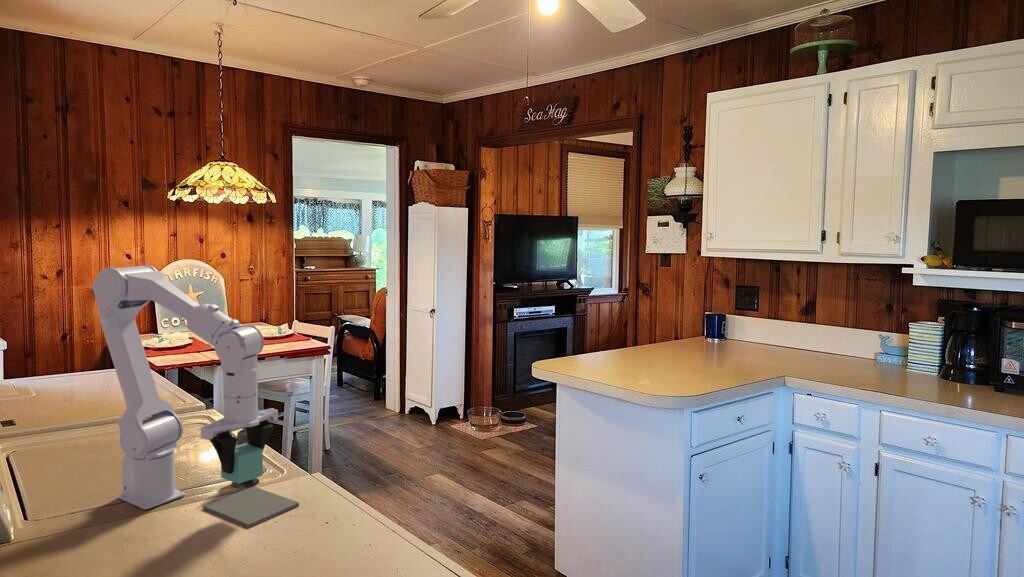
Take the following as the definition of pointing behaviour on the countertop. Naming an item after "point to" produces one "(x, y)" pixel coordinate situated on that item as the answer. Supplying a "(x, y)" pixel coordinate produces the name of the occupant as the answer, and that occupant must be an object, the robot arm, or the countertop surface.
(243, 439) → the dark grey chess piece
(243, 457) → the teal cube
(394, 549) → the countertop surface
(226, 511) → the charcoal mat
